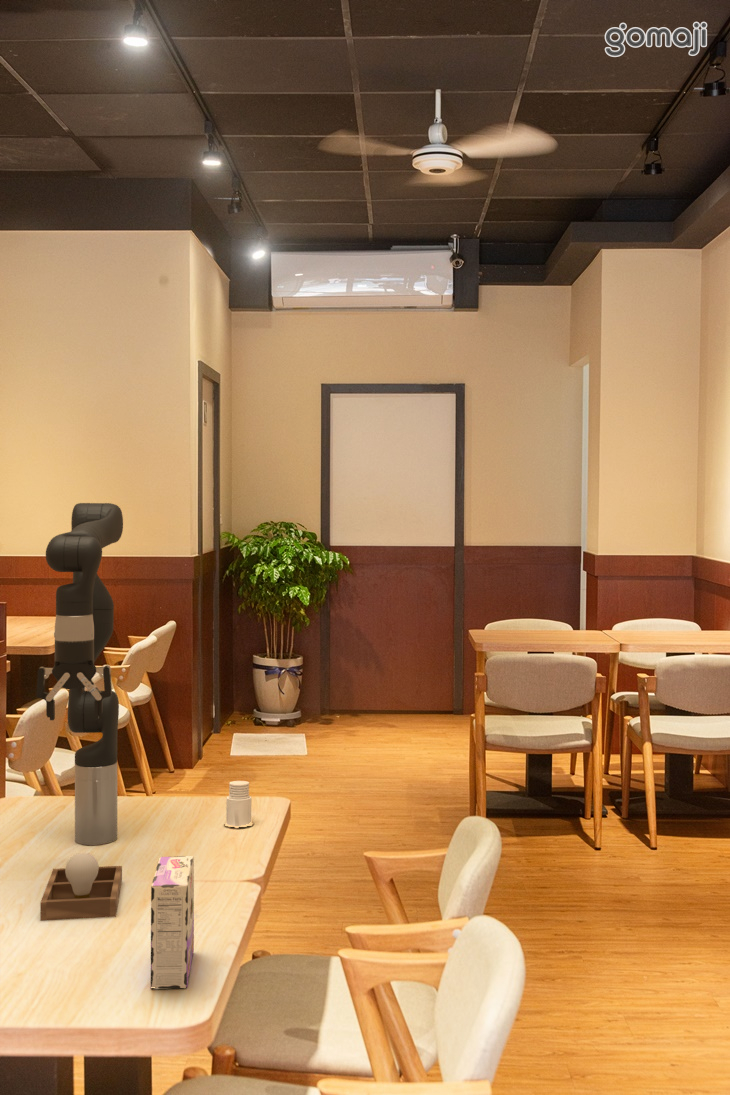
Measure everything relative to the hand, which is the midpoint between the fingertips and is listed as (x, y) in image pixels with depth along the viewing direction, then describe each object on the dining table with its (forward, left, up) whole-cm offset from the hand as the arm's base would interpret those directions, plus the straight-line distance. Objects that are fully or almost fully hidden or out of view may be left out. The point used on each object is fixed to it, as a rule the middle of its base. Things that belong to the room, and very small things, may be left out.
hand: (74, 719), depth 211 cm
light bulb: (+18, +3, -31) cm, 36 cm away
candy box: (+45, +20, -32) cm, 59 cm away
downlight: (-33, +34, -32) cm, 57 cm away
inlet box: (+14, +3, -32) cm, 35 cm away
